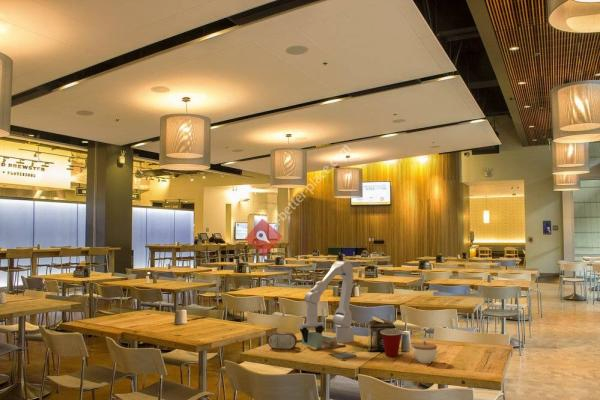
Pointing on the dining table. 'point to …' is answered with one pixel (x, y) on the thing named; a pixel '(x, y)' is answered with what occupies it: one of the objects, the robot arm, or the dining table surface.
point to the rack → (327, 346)
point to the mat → (343, 355)
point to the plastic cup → (391, 341)
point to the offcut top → (329, 338)
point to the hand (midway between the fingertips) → (311, 341)
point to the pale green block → (313, 339)
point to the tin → (282, 340)
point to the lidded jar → (424, 352)
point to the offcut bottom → (329, 343)
